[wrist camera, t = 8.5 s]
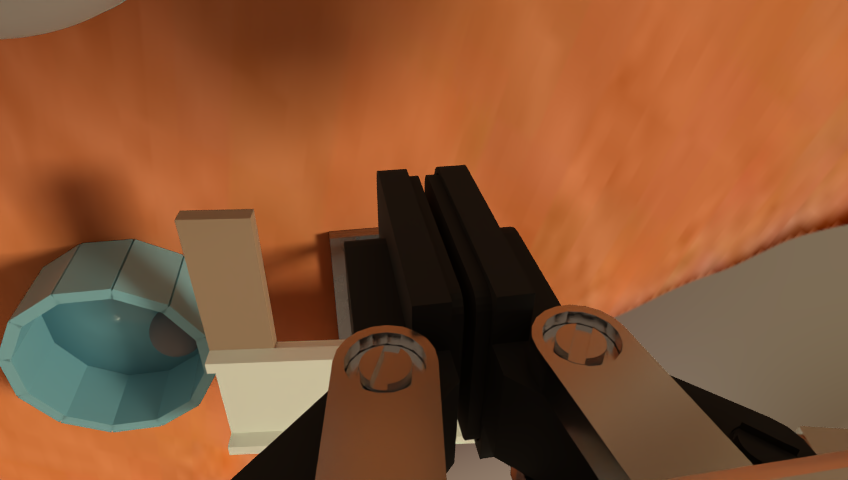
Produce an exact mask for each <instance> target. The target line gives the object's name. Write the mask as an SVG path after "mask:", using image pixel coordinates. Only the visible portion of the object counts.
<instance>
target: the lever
mask: <svg viewBox="0 0 848 480" xmlns="http://www.w3.org/2000/svg"><path fill="white" fill-rule="evenodd" d="M175 224H176V227H177V231H178V235H179V239H180V242H181V246H182V250H183V254H184V257H185V261H186V265H187V269H188V272H189V276H190V280H191V283H192V287H193V291H194V295H195V298H196V302H197V306H198V310H199V313H200V317H201V321H202V325H203V328H204V332H205V336H206V340H207V343H208V347H209V353H208V356H207V359H206V362H205V368H206V371H207V374H214V373H216V377H217V381H218V384H219V388H220V392H221V396H222V399H223V403H224V407H225V411H226V414H227V418H228V422H229V425H230V429H231V437H230V441H229V445H228V450H229V454H230V455H238V454H259V453H261V452H262V451H263V450H264V449H265V448H266V447H267V446H268V445H269V444H270V443H272V442H273V441H274V440H275V439H276V438H277V437H278V436H279V435H280V434H281V433H282V432H284V431H285V430H286V429H287V428H288V427H289V426H290V425H291V424H292V423H293V422H295V421H296V420H297V419H298V418H299V417H300V416H301V415H302V414H303V413H304V412H305V411H307V410H308V409H309V408H310V407H311V406H312V405H313V404H314V403H315V402H316V401H317V400H319V399H320V398H321V397H322V396H323V395H324V394H325V393H326V392H327V391H328V388H329V381H330V374H331V367H332V361H333V358H334V355H335V353H336V350H337V349H338V347H339V346H340V345H341V344H342V343H343V342H344V340H345V339H340V340H313V341H285V342H277V338H276V333H275V327H274V321H273V316H272V310H271V304H270V299H269V293H268V287H267V282H266V276H265V270H264V264H263V259H262V253H261V247H260V242H259V236H258V230H257V225H256V219H255V213H254V209H235V210H190V211H180V212H179V213H178V215H177V217H176V219H175ZM464 443H475V441H474V439H473V440H466V441H465V440H464V439H463V437H462V433H461V430H460V427H459V423H458V419H457V434H456V443H455V444H464Z"/></svg>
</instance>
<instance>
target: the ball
mask: <svg viewBox="0 0 848 480" xmlns="http://www.w3.org/2000/svg"><path fill="white" fill-rule="evenodd" d="M149 336H150V340H151V342H152V344H153V346H154V347H155V348H156V349H157V350H158V351H159V352H160V353H162V354H164V355H167V356H171V357H180V356H185V355H188V354H190V353H192V352H193V351H195V350H196V349H197V348H198V347H197V344H196V340H194V339H193V338H192V337H191V336H190V335H188V334H187V333H186V332H185V331H184V330H182V329H181V328H180V327H179V326H178V325H176V324H175V323H174V322H173V321H172V320H170V319H169V318H168V317H167V316H165V315H164V314H163V313H161V312H158V313H157V314H156V315H155V317H154V318H153V320H152V322H151V324H150V328H149Z"/></svg>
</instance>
